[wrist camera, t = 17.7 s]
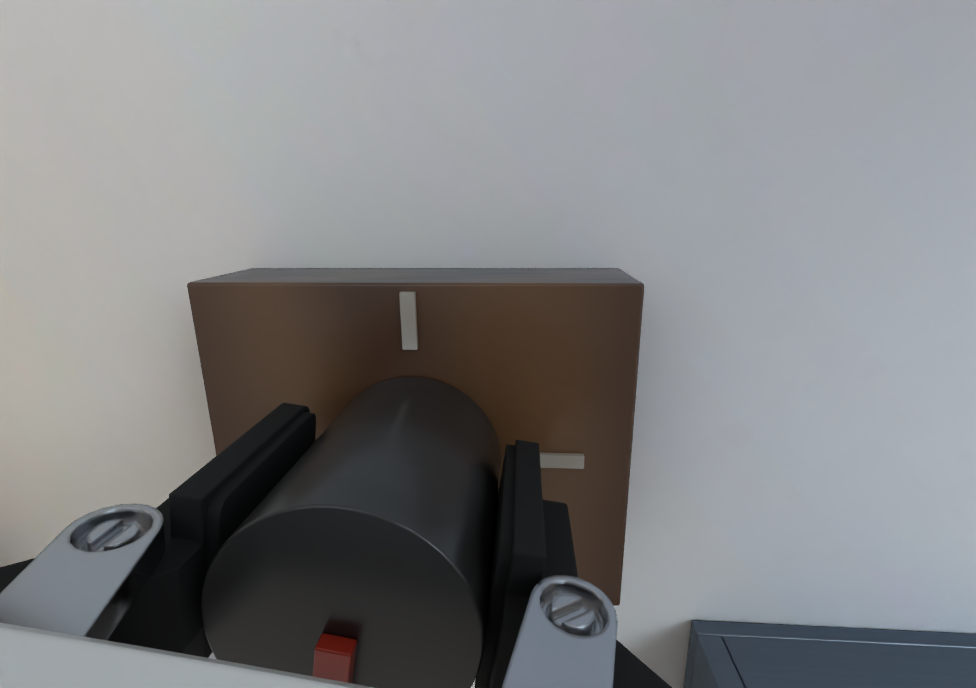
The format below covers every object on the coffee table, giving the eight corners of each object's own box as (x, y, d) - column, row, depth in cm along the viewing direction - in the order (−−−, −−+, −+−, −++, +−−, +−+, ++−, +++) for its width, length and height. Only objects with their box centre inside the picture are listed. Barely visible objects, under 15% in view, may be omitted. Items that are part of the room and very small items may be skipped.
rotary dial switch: (620, 268, 14) (646, 284, 11) (603, 537, 16) (621, 611, 13) (250, 268, 15) (180, 283, 12) (285, 525, 17) (235, 593, 14)
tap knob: (339, 361, 12) (184, 491, 7) (514, 392, 12) (506, 551, 6) (327, 513, 13) (187, 730, 8) (486, 542, 13) (459, 784, 8)
